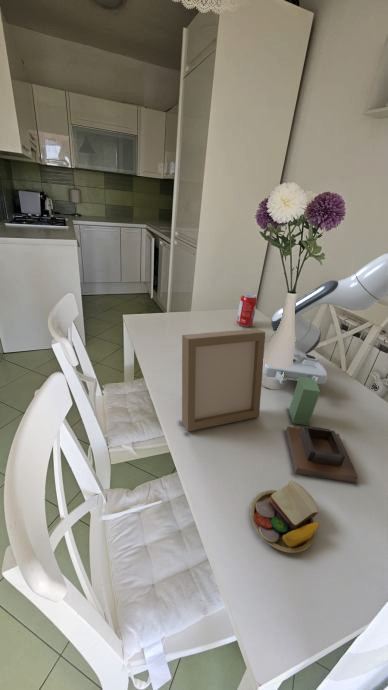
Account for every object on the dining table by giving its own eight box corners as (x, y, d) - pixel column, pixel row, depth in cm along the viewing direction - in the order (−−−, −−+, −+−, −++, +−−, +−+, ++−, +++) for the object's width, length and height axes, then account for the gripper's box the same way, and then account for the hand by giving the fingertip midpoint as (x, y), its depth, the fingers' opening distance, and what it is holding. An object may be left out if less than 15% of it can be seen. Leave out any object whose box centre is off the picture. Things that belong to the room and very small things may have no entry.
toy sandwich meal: (237, 503, 63) (241, 488, 61) (290, 486, 68) (295, 471, 66) (273, 566, 53) (279, 551, 51) (331, 540, 58) (339, 525, 56)
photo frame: (258, 419, 87) (277, 341, 76) (187, 434, 79) (197, 350, 68) (233, 389, 99) (247, 318, 88) (170, 399, 91) (176, 323, 80)
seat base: (336, 439, 83) (342, 425, 81) (355, 482, 71) (363, 467, 68) (285, 431, 84) (289, 417, 81) (295, 473, 71) (300, 458, 69)
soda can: (232, 323, 149) (237, 293, 142) (243, 319, 154) (248, 291, 147) (245, 328, 144) (251, 298, 137) (255, 325, 149) (261, 296, 142)
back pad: (303, 411, 92) (314, 379, 87) (308, 425, 87) (320, 391, 81) (288, 409, 92) (299, 376, 87) (292, 423, 87) (303, 389, 82)
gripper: (262, 350, 105) (267, 371, 93) (322, 358, 104) (335, 380, 92) (259, 365, 108) (263, 388, 96) (317, 373, 107) (328, 397, 95)
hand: (298, 384), depth 94 cm, fingers open, 8 cm apart
